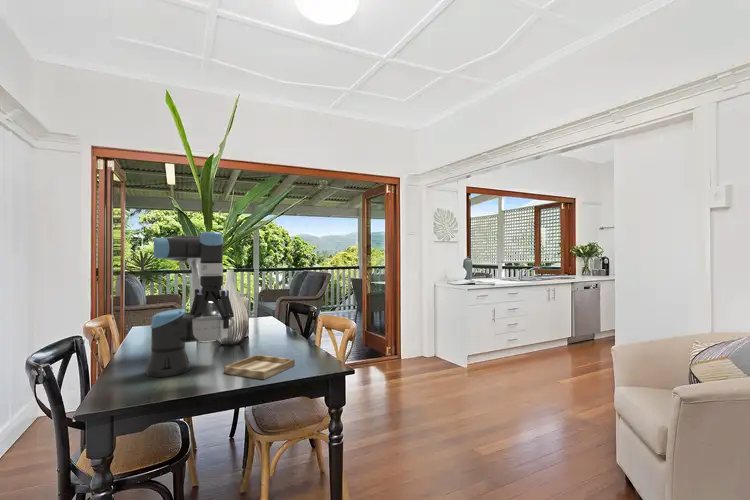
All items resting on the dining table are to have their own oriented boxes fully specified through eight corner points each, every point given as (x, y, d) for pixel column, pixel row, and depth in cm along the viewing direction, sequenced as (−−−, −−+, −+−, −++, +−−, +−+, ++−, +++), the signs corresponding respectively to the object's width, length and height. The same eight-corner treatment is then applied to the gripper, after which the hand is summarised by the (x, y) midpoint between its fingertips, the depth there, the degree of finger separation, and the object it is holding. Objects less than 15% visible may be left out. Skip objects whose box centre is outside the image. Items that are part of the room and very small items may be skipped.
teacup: (189, 344, 136) (189, 320, 136) (194, 337, 147) (194, 315, 147) (233, 341, 140) (233, 318, 140) (235, 335, 150) (235, 313, 150)
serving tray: (223, 373, 153) (223, 366, 153) (256, 360, 171) (256, 354, 171) (264, 379, 146) (264, 372, 146) (294, 365, 163) (294, 359, 163)
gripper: (179, 274, 145) (179, 335, 145) (229, 276, 136) (229, 341, 136) (196, 273, 152) (196, 331, 152) (244, 275, 143) (244, 337, 143)
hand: (211, 336), depth 144 cm, fingers closed on teacup, 11 cm apart
